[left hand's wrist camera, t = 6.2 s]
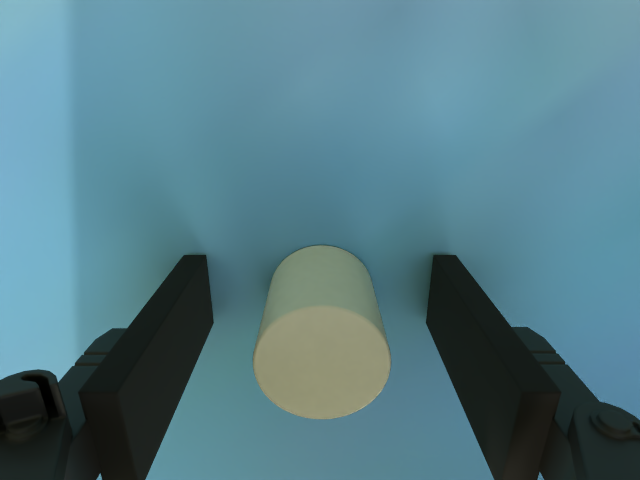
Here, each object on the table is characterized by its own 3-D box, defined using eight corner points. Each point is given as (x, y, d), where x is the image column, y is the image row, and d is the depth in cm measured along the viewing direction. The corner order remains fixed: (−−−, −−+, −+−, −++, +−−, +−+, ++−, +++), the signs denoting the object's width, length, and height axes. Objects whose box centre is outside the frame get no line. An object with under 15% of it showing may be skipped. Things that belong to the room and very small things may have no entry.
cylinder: (265, 246, 14) (244, 308, 10) (373, 242, 14) (393, 303, 10) (274, 336, 15) (259, 422, 11) (372, 333, 15) (389, 418, 11)
